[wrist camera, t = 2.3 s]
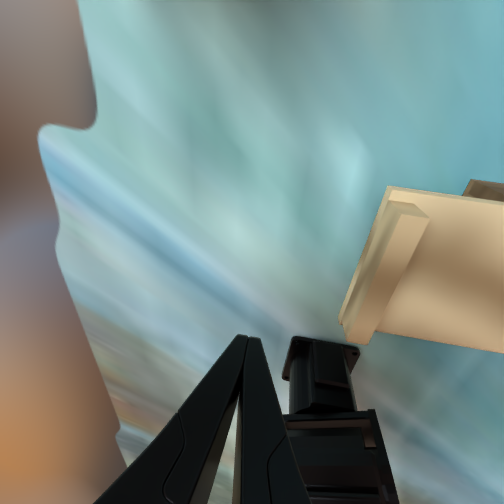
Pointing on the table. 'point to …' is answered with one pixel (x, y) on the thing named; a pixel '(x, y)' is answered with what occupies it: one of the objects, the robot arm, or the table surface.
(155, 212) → the table surface
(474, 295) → the lid
